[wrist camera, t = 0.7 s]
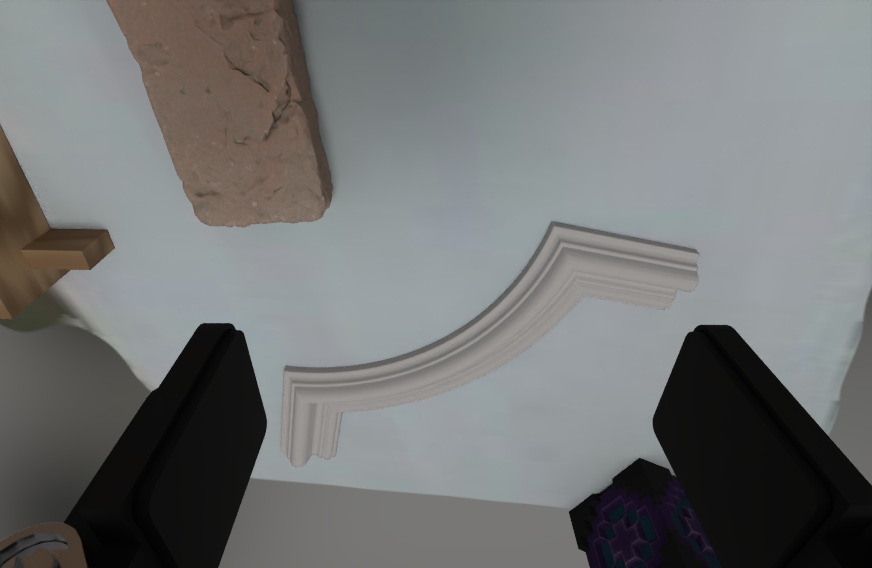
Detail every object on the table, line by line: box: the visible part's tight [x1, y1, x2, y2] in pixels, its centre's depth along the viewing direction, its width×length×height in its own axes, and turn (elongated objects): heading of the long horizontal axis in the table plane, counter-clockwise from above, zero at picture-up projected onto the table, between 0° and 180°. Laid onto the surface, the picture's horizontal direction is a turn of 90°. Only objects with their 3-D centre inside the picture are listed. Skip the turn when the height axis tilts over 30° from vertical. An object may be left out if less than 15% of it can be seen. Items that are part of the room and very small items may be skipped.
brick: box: [106, 0, 333, 227], centre depth 26 cm, size 17×8×5 cm, turn 4°
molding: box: [281, 222, 700, 468], centre depth 40 cm, size 42×12×3 cm, turn 123°
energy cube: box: [569, 458, 722, 568], centre depth 50 cm, size 12×12×12 cm
